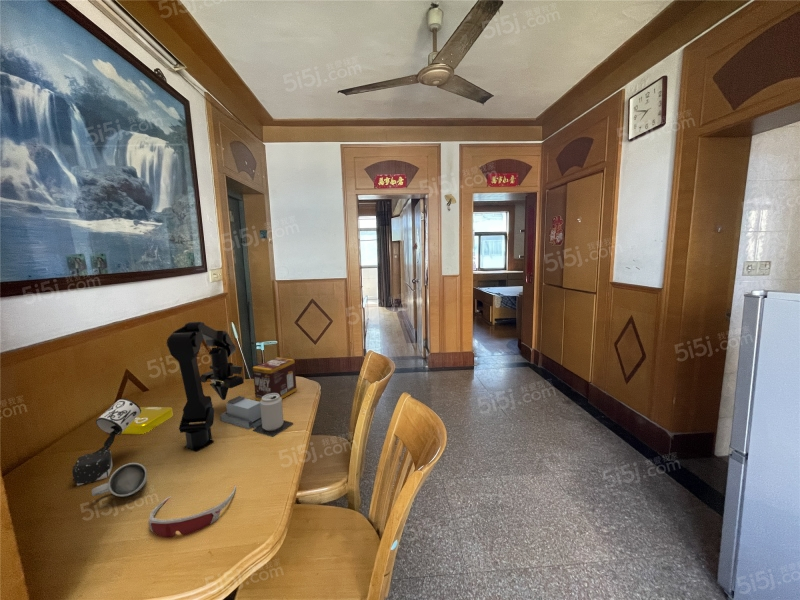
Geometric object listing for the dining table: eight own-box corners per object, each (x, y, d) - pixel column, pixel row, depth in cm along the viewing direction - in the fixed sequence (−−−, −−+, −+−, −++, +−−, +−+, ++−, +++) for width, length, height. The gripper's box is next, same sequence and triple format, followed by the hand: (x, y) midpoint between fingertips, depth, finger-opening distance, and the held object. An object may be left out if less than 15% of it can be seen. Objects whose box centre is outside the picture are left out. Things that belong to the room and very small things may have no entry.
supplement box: (255, 400, 145) (252, 367, 143) (280, 387, 159) (277, 356, 157) (272, 404, 141) (269, 369, 139) (297, 390, 155) (294, 359, 153)
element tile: (176, 416, 133) (174, 405, 132) (144, 437, 118) (142, 424, 117) (141, 416, 134) (140, 405, 133) (106, 436, 119) (104, 424, 119)
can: (279, 431, 118) (276, 400, 116) (258, 432, 118) (255, 400, 116) (286, 421, 125) (284, 391, 123) (267, 421, 125) (264, 391, 123)
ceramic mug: (141, 496, 90) (152, 465, 94) (139, 496, 84) (151, 463, 88) (92, 496, 85) (105, 463, 89) (86, 496, 79) (101, 461, 83)
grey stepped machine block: (249, 423, 123) (247, 406, 122) (227, 417, 128) (226, 401, 127) (262, 416, 128) (260, 400, 127) (240, 411, 133) (239, 395, 132)
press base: (272, 437, 115) (272, 429, 114) (219, 422, 127) (219, 414, 126) (293, 424, 124) (292, 416, 123) (242, 410, 136) (241, 403, 135)
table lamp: (111, 400, 106) (103, 393, 99) (146, 404, 110) (142, 398, 102) (67, 489, 94) (54, 490, 86) (109, 491, 97) (100, 492, 89)
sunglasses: (132, 550, 71) (131, 527, 71) (171, 505, 87) (170, 486, 88) (218, 536, 74) (218, 513, 74) (240, 495, 91) (239, 477, 91)
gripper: (253, 359, 133) (256, 395, 135) (222, 354, 141) (226, 388, 143) (228, 367, 123) (232, 406, 125) (197, 361, 131) (201, 398, 133)
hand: (223, 399), depth 132 cm, fingers closed
